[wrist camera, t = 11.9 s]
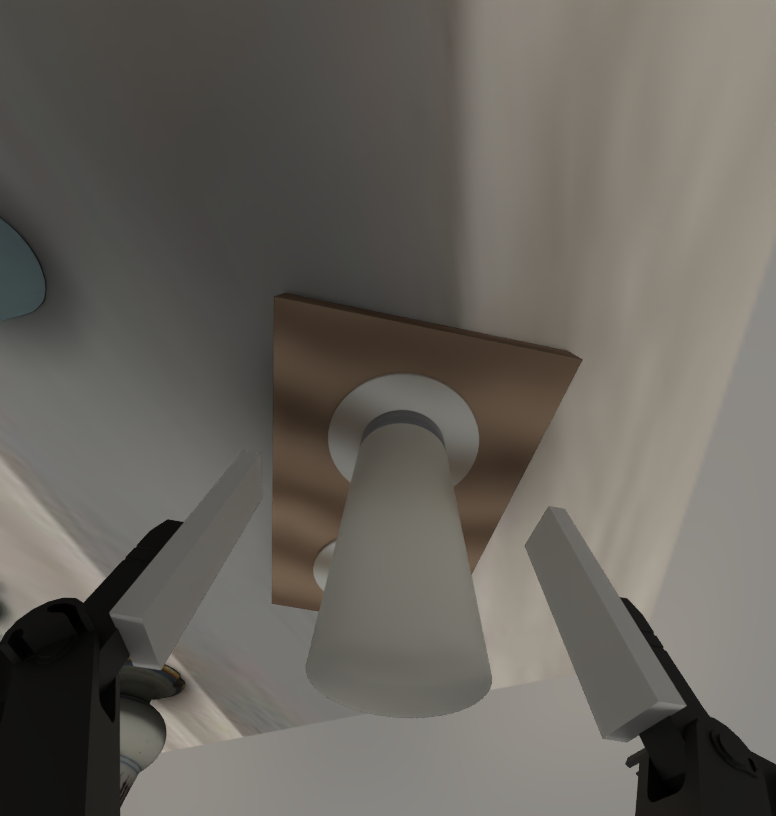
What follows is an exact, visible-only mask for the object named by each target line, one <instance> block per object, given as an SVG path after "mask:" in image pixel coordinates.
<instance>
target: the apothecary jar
mask: <svg viewBox="0 0 776 816" xmlns="http://www.w3.org/2000/svg"><path fill="white" fill-rule="evenodd" d="M119 675H120V807H121V806H122V803H123V802H124V800H125V797H126V796H127V794H128V792H129V790H130V788H131V786H132V785H133V782H134V781H135V779H136V777H137V775H138V774H139V772H141V771H142V770H144V769H145V768H147V767H148V766H149V765H150V764H151V763H153V762H154V760H155V759H156V758H157V757H158V755H159V754H160V752H161V751H162V749H163V746H164V744H165V740H166V725H165V722H164V719H163V718H162V716H161V715H160V713H159V712H158V711H157V710H156V709H155V708H154V707H153V706H151V705H150V701H151V699H161V698H166V697H171V696H174V695H176V694H178V693H180V692H181V691H182V689H183V688H184V686H185V682H184V681H182V680H181V679H179V677H180V674H178V673H177V672H176V671H175V670H173V669H172V668H170V667H168V666H166V665H164V666H163V668H162V669H161V670H156V669H150V668H143V667H137V666H133V664H132V661H131V659H130V657H129V658H128V659H127V661H126V662H125V664H124V665H123V667H122V668H121V669H120V671H119Z"/></svg>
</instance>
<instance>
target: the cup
mask: <svg viewBox="0 0 776 816" xmlns="http://www.w3.org/2000/svg"><path fill="white" fill-rule="evenodd" d="M44 296H45V280H44V276H43V273H42V270H41V267H40V265H39V263H38V260H37V258H36V257H35V255H34V253H33V252H32V250H31V249H30V247H29V246H28V245H27V243H26V242H25V241H24V240H23V238H22V237H21V236H20V235H19V234H18V233H17V232H16V231H15V230H14V229H13V228H12V227H11V226H9V225H8V224H7V223H6V222H4V221H3V220H2V219H1V218H0V321H3V320H7V319H11V318H14V317H18V316H21V315H25V314H28V313H31V312H33V311H34V310H35V309H37V308H38V307H39V306H40V305H41V304H42V302H43V300H44Z"/></svg>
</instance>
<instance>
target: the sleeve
mask: <svg viewBox="0 0 776 816" xmlns="http://www.w3.org/2000/svg"><path fill="white" fill-rule="evenodd" d="M306 673H307V677H308V679H309V680H310V682H311V683H312V685H313V686H314V687H315V688H316V689H317V690H318V691H319V692H320V693H322V694H323V695H324V696H326V697H327V698H329V699H331V700H333V701H334V702H337V703H339V704H341V705H343V706H346V707H348V708H351V709H354V710H357V711H361V712H365V713H369V714H374V715H380V716H386V717H396V718H426V717H435V716H442V715H446V714H451V713H454V712H458V711H461V710H463V709H466V708H468V707H470V706H472V705H474V704H475V703H477V702H478V701H480V700H481V699H482V698H483V697H484V696H485V695H486V694H487V693H488V691H489V690H490V687H491V684H492V675H491V670H490V665H489V660H488V655H487V650H486V645H485V640H484V635H483V630H482V625H481V620H480V616H479V611H478V606H477V601H476V596H475V591H474V586H473V581H472V576H471V571H470V566H469V561H468V556H467V551H466V546H465V542H464V537H463V532H462V527H461V522H460V517H459V512H458V507H457V502H456V497H455V492H454V487H453V482H452V477H451V472H450V467H449V463H448V458H447V453H446V448H445V443H444V438H443V435H442V432H441V430H440V429H439V427H438V426H437V425H436V424H435V423H434V422H433V421H432V420H431V419H430V418H428V417H427V416H425V415H423V414H421V413H418V412H415V411H410V410H394V411H389V412H386V413H383V414H381V415H379V416H378V417H376V418H375V419H373V420H372V421H371V422H370V423H369V424H368V425H367V427H366V428H365V430H364V432H363V434H362V438H361V442H360V446H359V450H358V454H357V459H356V463H355V467H354V471H353V475H352V479H351V483H350V487H349V491H348V495H347V499H346V503H345V507H344V512H343V516H342V520H341V524H340V528H339V532H338V536H337V540H336V544H335V548H334V552H333V556H332V560H331V565H330V569H329V573H328V577H327V581H326V585H325V589H324V593H323V597H322V601H321V605H320V609H319V613H318V618H317V622H316V626H315V630H314V634H313V638H312V642H311V646H310V650H309V654H308V658H307V662H306Z"/></svg>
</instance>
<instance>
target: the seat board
mask: <svg viewBox="0 0 776 816" xmlns="http://www.w3.org/2000/svg"><path fill="white" fill-rule="evenodd" d="M581 362H582V359H581V358H579V357H577V356H576V355H574V354H572V353H571V352H569V351H565V350H560V349H555V348H550V347H545V346H541V345H536V344H531V343H526V342H521V341H516V340H511V339H506V338H501V337H497V336H492V335H487V334H482V333H477V332H472V331H467V330H462V329H458V328H453V327H448V326H443V325H438V324H433V323H428V322H423V321H418V320H414V319H409V318H404V317H399V316H394V315H389V314H384V313H379V312H375V311H370V310H365V309H360V308H355V307H350V306H345V305H340V304H335V303H331V302H326V301H321V300H316V299H311V298H306V297H301V296H296V295H292V294H287V293H284V294H281V295H277V296H274V362H273V502H272V604H277V605H283V606H289V607H295V608H301V609H307V610H313V611H319V609H320V605H321V601H322V597H323V593H324V589H325V585H326V581H327V577H328V573H329V569H330V565H331V560H332V556H333V552H334V548H335V544H336V540H337V536H338V532H339V528H340V524H341V520H342V516H343V512H344V507H345V503H346V499H347V495H348V491H349V487H350V483H351V479H352V475H353V471H354V467H355V463H356V459H357V454H358V450H359V446H360V442H361V438H362V434H363V432H364V430H365V428H366V427H367V425H368V424H369V423H370V422H371V421H372V420H373V419H375V418H376V417H378V416H379V415H381V414H383V413H386V412H389V411H394V410H410V411H415V412H418V413H421V414H423V415H425V416H427V417H428V418H430V419H431V420H432V421H433V422H434V423H435V424H436V425H437V426H438V427H439V429H440V430H441V432H442V435H443V438H444V443H445V448H446V453H447V458H448V463H449V467H450V472H451V477H452V482H453V487H454V492H455V497H456V502H457V507H458V512H459V517H460V522H461V527H462V532H463V537H464V542H465V546H466V551H467V556H468V561H469V566H470V571H471V575H472V573H473V571H474V569H475V567H476V565H477V563H478V561H479V559H480V557H481V555H482V553H483V551H484V550H485V548H486V546H487V544H488V542H489V540H490V538H491V536H492V534H493V532H494V530H495V528H496V526H497V524H498V522H499V521H500V519H501V517H502V515H503V513H504V511H505V509H506V507H507V505H508V503H509V501H510V499H511V497H512V495H513V493H514V491H515V490H516V488H517V486H518V484H519V482H520V480H521V478H522V476H523V474H524V472H525V470H526V468H527V466H528V464H529V462H530V460H531V459H532V457H533V455H534V453H535V451H536V449H537V447H538V445H539V443H540V441H541V439H542V437H543V435H544V433H545V431H546V429H547V428H548V426H549V424H550V422H551V420H552V418H553V416H554V414H555V412H556V410H557V408H558V406H559V404H560V402H561V400H562V398H563V397H564V395H565V393H566V391H567V389H568V387H569V385H570V383H571V381H572V379H573V377H574V375H575V373H576V371H577V369H578V367H579V366H580V364H581Z"/></svg>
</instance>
